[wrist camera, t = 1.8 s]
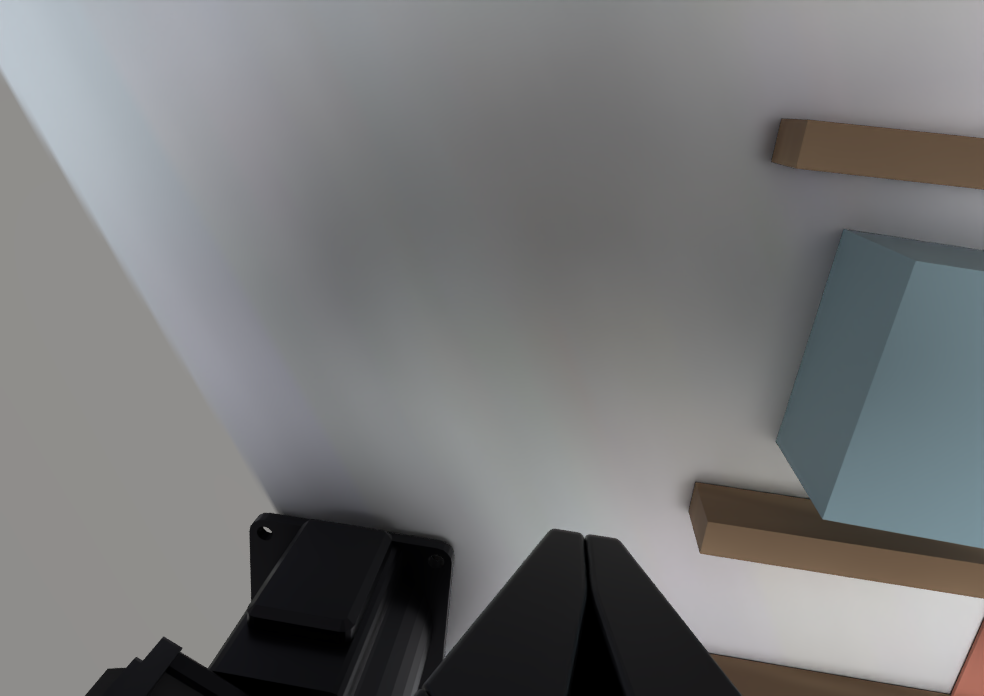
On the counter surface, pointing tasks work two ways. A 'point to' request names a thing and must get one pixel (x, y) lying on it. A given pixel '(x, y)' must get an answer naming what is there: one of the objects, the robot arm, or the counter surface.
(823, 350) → the slate block
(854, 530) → the brown bars
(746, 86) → the counter surface
